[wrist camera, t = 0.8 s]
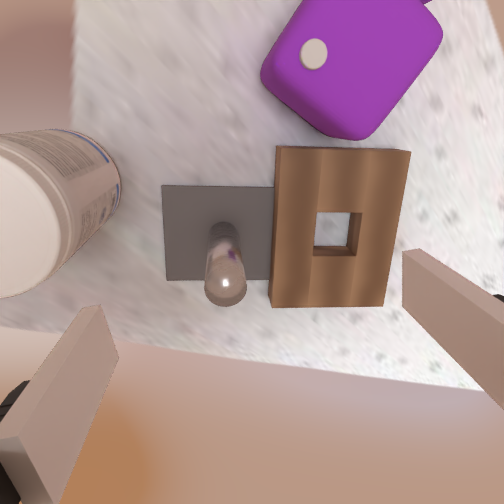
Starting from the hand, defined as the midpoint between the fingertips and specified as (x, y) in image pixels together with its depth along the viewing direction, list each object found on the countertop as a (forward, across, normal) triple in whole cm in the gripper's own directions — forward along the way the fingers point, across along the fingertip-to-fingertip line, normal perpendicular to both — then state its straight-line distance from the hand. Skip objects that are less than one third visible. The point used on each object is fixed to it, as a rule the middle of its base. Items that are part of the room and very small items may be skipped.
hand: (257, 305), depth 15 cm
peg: (+21, -2, -4) cm, 22 cm away
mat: (+22, -2, -3) cm, 22 cm away
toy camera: (+22, +11, +12) cm, 27 cm away
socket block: (+22, +9, -4) cm, 24 cm away
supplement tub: (+22, -15, +4) cm, 27 cm away
